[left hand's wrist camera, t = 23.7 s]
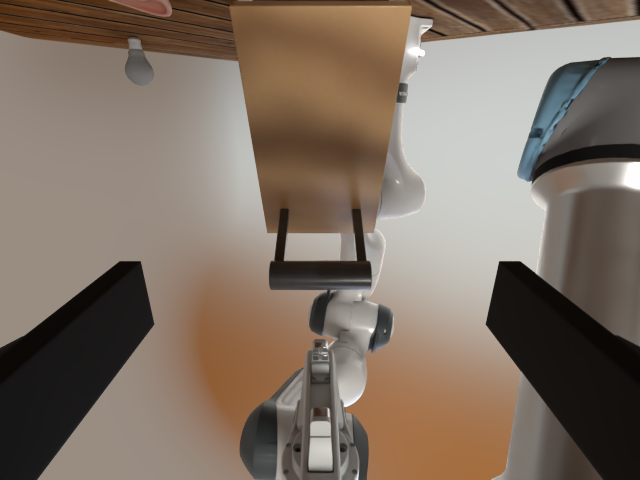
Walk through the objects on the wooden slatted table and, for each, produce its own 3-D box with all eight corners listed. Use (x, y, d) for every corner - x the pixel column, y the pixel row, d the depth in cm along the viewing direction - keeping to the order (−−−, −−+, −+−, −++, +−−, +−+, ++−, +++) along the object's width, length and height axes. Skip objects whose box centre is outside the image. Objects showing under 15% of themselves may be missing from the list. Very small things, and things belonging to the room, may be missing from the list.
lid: (372, 225, 30) (384, 307, 25) (268, 225, 30) (256, 307, 25) (409, 0, 18) (449, 62, 12) (231, 0, 18) (191, 62, 12)
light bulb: (142, 35, 76) (150, 84, 79) (151, 40, 81) (159, 86, 85) (113, 35, 75) (123, 84, 79) (125, 39, 80) (134, 86, 84)
